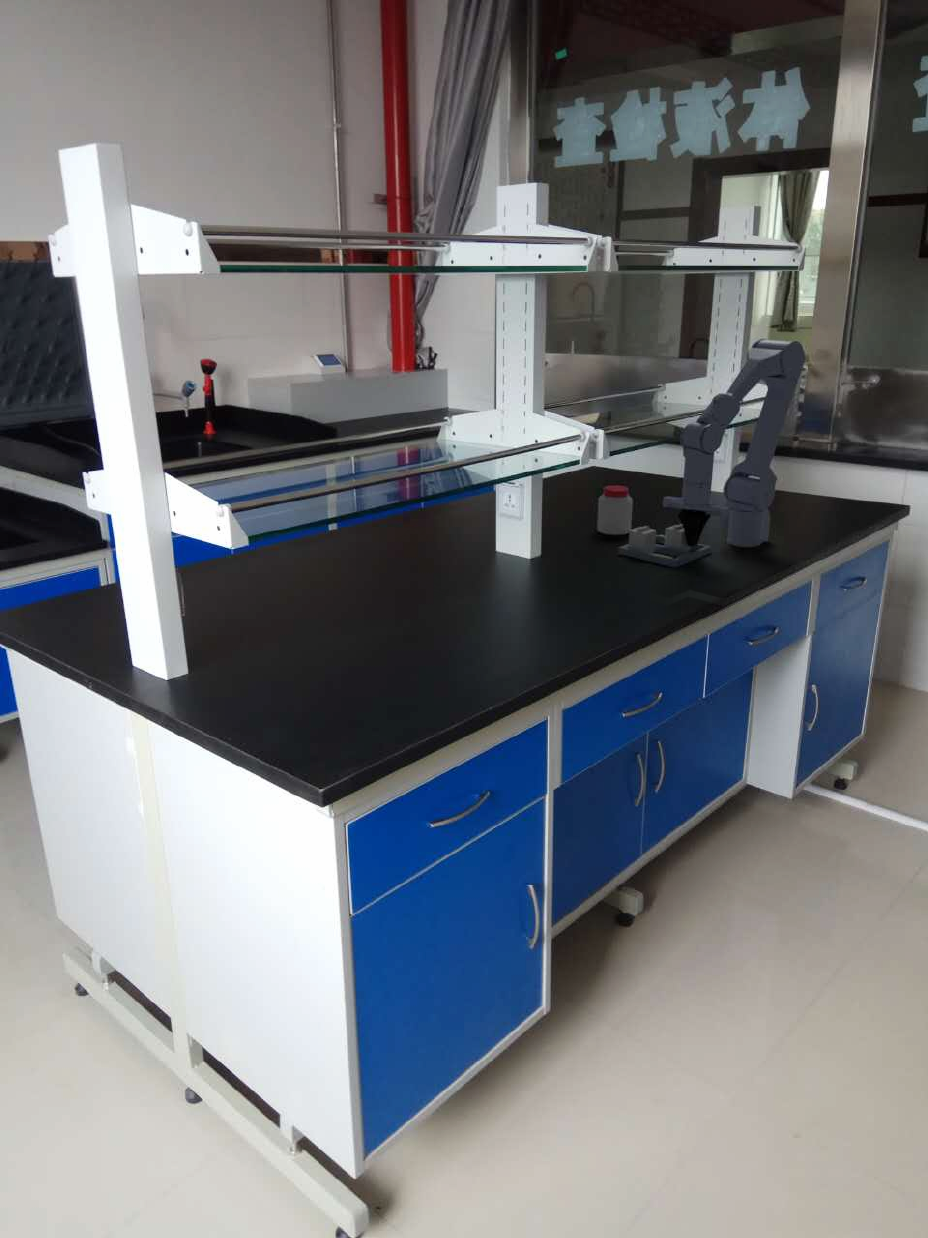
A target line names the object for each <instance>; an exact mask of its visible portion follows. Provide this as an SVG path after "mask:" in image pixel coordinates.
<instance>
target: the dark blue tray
mask: <svg viewBox="0 0 928 1238" xmlns="http://www.w3.org/2000/svg"><path fill="white" fill-rule="evenodd" d="M657 543H658V544H657ZM664 545H665V534H657V533H656V543H655V553H653V554H652V553H647V552H643V551H639V550H635V549H630V548H629V543H628V544H625V545H621V546H620V547H618V555H621V556H627V557H629V558H634V559H638V560H643V561H646V562H650V563H655V564H659V565H663V566H667V567H671V568H678V567H680V566H682V565H685V564H688V563H690V562H692V561H695V560H698V559H700V558H702V557H705V556H707V555H710V554H712V550H713V549H712V548H713V546H710V545H708V544H707V545H706V544H702V543H698V544H697V545H695V546H693V547H692V546H691V550H690V551H685V550H680V549H676V548H671V547H667V546H664ZM674 557H675V558H674Z"/></svg>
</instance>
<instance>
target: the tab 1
mask: <svg viewBox="0 0 928 1238" xmlns="http://www.w3.org/2000/svg"><path fill="white" fill-rule="evenodd" d="M656 534H657V530H656V529H654V528H653V529H652V528H650V526H647V525H644V526H639V527H636V528H633V529H631V530H630V532H629V533H628V535H629V536H628V544H629V548H630V549H635V550H639V551H643V552H647V553H652V554H656V552H655V544H657V543H656Z"/></svg>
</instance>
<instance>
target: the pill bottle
mask: <svg viewBox="0 0 928 1238" xmlns="http://www.w3.org/2000/svg"><path fill="white" fill-rule="evenodd" d="M633 501H634V500H633V498H632V497H631V496H630V494H629V487H627V486H624V485H623V486H622V485H606V486H605V487H604V488H603V494H602V495H601V496H600V497H598V507H597V508H598V509H597V510H598V511H597V526H596V527H597V532H600V533H602V534H606V535H615V536H617V535H618V536H619V535H625V534H629V533H630V530H632V521H633V520H632V519H633V503H634V502H633Z"/></svg>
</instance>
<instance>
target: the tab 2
mask: <svg viewBox="0 0 928 1238" xmlns="http://www.w3.org/2000/svg"><path fill="white" fill-rule="evenodd" d="M664 531H665V534H664V535H665V544H663V546H667V547H671V548H676V549H680V550H685V551H689V552H691V551H692V550H691V546H687V540H686V535H685V531H684V528H683V525H682V523H680V524H678V525H677V524H675V525H672V526H669V527H666V528H665V530H664Z"/></svg>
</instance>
